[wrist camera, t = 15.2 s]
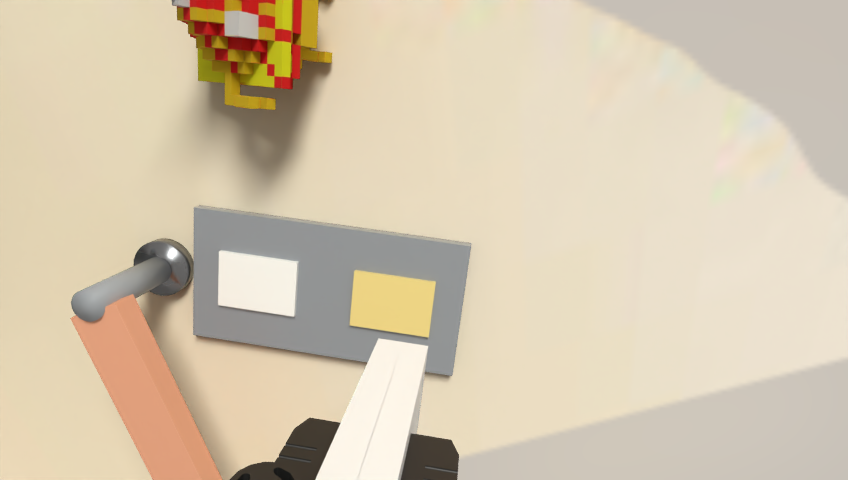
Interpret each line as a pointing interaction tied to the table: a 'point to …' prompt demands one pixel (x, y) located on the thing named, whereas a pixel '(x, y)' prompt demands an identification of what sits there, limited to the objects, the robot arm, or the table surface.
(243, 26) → the toy
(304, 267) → the label board
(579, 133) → the table surface
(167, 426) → the swing arm
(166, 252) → the pivot pedestal
